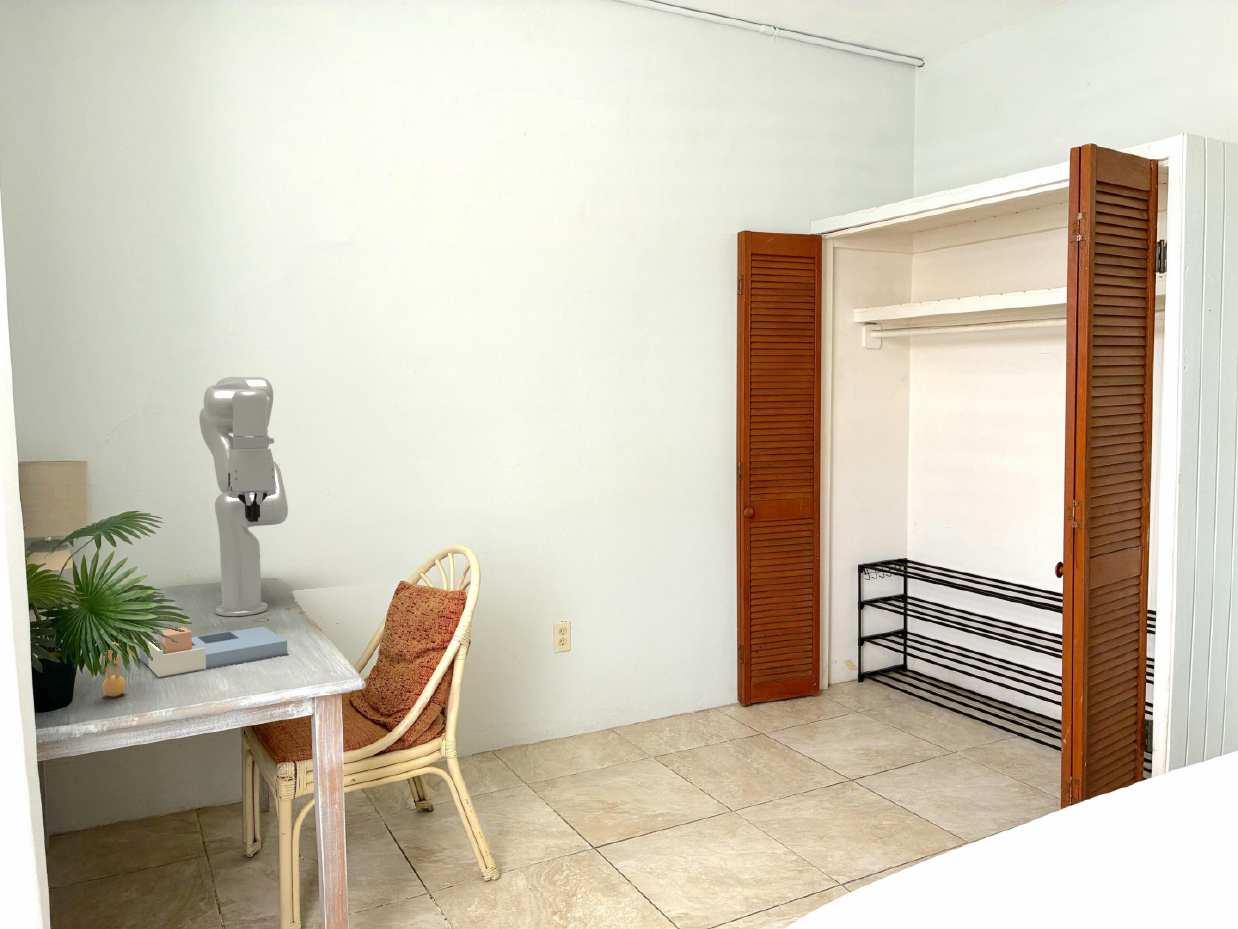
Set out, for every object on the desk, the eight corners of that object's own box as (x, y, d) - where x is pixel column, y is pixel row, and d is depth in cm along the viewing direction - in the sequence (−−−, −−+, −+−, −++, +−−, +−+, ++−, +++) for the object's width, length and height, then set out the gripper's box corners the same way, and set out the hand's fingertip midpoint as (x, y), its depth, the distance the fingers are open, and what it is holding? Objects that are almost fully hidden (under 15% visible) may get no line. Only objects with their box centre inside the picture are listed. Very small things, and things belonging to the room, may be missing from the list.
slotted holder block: (139, 658, 198) (138, 633, 197) (262, 638, 214) (261, 615, 214) (159, 678, 185) (158, 651, 184) (288, 655, 201) (288, 630, 201)
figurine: (141, 690, 177) (138, 629, 176) (135, 700, 171) (132, 637, 170) (92, 694, 175) (89, 632, 174) (84, 705, 169) (82, 641, 168)
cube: (159, 654, 190) (158, 631, 190) (185, 650, 194) (184, 627, 193) (165, 660, 187) (165, 636, 186) (192, 655, 190) (191, 632, 189)
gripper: (277, 441, 222) (279, 516, 224) (212, 443, 213) (214, 522, 215) (288, 443, 217) (290, 520, 218) (221, 445, 207) (224, 526, 209)
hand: (252, 521), depth 217 cm, fingers closed
